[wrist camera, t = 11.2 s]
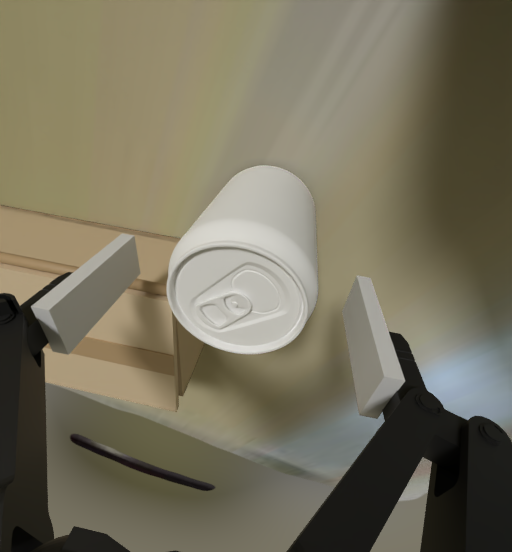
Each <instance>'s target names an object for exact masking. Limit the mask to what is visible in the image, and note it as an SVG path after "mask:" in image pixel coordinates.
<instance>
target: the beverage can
mask: <svg viewBox="0 0 512 552" xmlns="http://www.w3.org/2000/svg"><path fill="white" fill-rule="evenodd" d="M166 291H167V298H168V302H169V305H170V308H171V310H172V312H173V314H174V315H175V317H176V318H177V320H178V321H179V322H180V323H181V325H182V326H183V327H184V328H185V329H186V330H187V331H189V332H190V333H191V334H192V335H193V336H195V337H196V338H198V339H199V340H201V341H203V342H204V343H206V344H208V345H210V346H213V347H215V348H218V349H221V350H224V351H228V352H232V353H238V354H262V353H267V352H271V351H275V350H277V349H280V348H282V347H284V346H286V345H287V344H289V343H290V342H292V341H293V340H294V339H295V338H296V337H297V336H298V335H299V334H300V332H301V331H302V329H303V327H304V325H305V323H306V322H307V320H308V319H309V317H310V316H311V314H312V312H313V310H314V308H315V305H316V302H317V297H318V266H317V237H316V211H315V204H314V201H313V198H312V195H311V193H310V191H309V190H308V188H307V187H306V185H305V184H304V183H303V182H302V181H301V180H300V179H299V178H298V177H297V176H295V175H294V174H292V173H291V172H289V171H287V170H285V169H282V168H279V167H275V166H255V167H251V168H248V169H245V170H243V171H241V172H239V173H238V174H236V175H235V176H234V177H233V178H232V179H231V180H230V181H229V182H228V183H227V184H226V185H225V186H224V188H223V189H222V190H221V191H220V192H219V194H218V195H217V196H216V197H215V199H214V200H213V201H212V202H211V203H210V205H209V206H208V207H207V208H206V209H205V211H204V212H203V213H202V214H201V215H200V217H199V218H198V219H197V220H196V221H195V223H194V224H193V225H192V226H191V227H190V229H189V230H188V231H187V232H186V233H185V235H184V236H183V237H182V238H181V240H180V241H179V242H178V244H177V245H176V247H175V248H174V250H173V253H172V255H171V258H170V262H169V267H168V279H167V287H166Z"/></svg>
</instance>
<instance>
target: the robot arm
mask: <svg viewBox="0 0 512 552" xmlns="http://www.w3.org/2000/svg"><path fill="white" fill-rule="evenodd" d="M139 275H140V267H139V260H138V254H137V248H136V242H135V236H134V235H129V234H123V233H122V234H121V235H119V236H118V237H117V238H116V239H114V240H113V241H112V242H111V243H109V244H108V245H107V246H106V247H104V248H103V249H102V250H101V251H99V252H98V253H97V254H96V255H94V256H93V257H92V258H91V259H89V260H88V261H87V262H86V263H84V264H83V265H82V266H81V267H79V268H78V269H77V270H76V271H75V272H67V273H65V274H63V275H61V276H58V277H57V278H55V279H54V280H53V281H52V282H50V283H49V285H46V286H45V287H44V288H42V290H40V291H39V292H37V293H36V294H35V295H33V296H32V297H31V298H29V299H28V300H27V301H26V302H24V303H23V304H22V305H19V303H18V301H17V299H16V298H15V296H14V295H12V294H9V293H0V552H130V551H129V550H127V549H126V548H125V547H123V546H122V545H120V544H119V543H118V542H116V541H115V540H114V539H112V538H111V537H110V536H108V535H107V534H104V533H100V532H96V531H92V530H88V529H83V528H79V527H75V526H74V527H73V529H72V531H71V533H70V535H66V536H62V537H58V538H56V539H54V532H53V527H52V523H51V520H50V517H49V512H48V492H47V446H46V400H45V354H44V352H43V350H42V349H43V348H44V347H45V346H46V345H47V344H48V343H49V345H50V347H51V349H52V351H53V352H57V353H62V354H67V355H69V354H70V353H71V352H72V351H73V349H74V348H75V347H76V346H77V345H78V344H79V343H80V341H81V340H82V339H83V338H84V337H85V336H86V335H87V333H88V332H89V331H90V330H91V329H92V328H93V327H94V326H95V324H96V323H97V322H98V321H99V320H100V319H101V318H102V316H103V315H104V314H105V313H106V312H107V311H108V310H109V309H110V307H111V306H112V305H113V304H114V303H115V302H116V301H117V299H118V298H119V297H120V296H121V295H122V294H123V293H124V292H125V290H126V289H127V288H128V287H129V286H130V285H131V284H132V282H133V281H134V280H135V279H136V278H137V277H138V276H139ZM342 312H343V319H344V325H345V331H346V337H347V343H348V349H349V355H350V361H351V368H352V374H353V380H354V386H355V392H356V398H357V404H358V411H359V415H362V416H367V417H372V418H376V419H377V418H378V417H379V416H380V414H381V413H382V412H383V415H384V419H385V422H384V423H383V424H382V426H381V427H380V428H379V430H378V431H377V432H376V434H375V435H374V436H373V438H372V439H371V440H370V442H369V443H368V444H367V446H366V447H365V448H364V450H363V451H362V452H361V454H360V455H359V456H358V458H357V459H356V460H355V462H354V463H353V464H352V466H351V467H350V468H349V470H348V471H347V472H346V474H345V475H344V476H343V478H342V479H341V480H340V481H339V483H338V484H337V485H336V487H335V488H334V490H333V491H332V492H331V493H330V495H329V496H328V497H327V499H326V500H325V501H324V503H323V504H322V505H321V507H320V508H319V509H318V511H317V512H316V513H315V515H314V516H313V517H312V519H311V520H310V521H309V523H308V524H307V525H306V527H305V528H304V529H303V531H302V532H301V533H300V535H299V536H298V537H297V539H296V540H295V541H294V542H293V544H292V545H291V547H290V548H289V549H288V550H287V552H370V550H371V548H372V546H373V544H374V543H375V541H376V539H377V538H378V536H379V534H380V532H381V530H382V529H383V527H384V525H385V523H386V521H387V520H388V518H389V516H390V514H391V512H392V510H393V509H394V507H395V505H396V503H397V502H398V500H399V498H400V496H401V495H402V493H403V491H404V489H405V487H406V486H407V484H408V482H409V480H410V478H411V477H412V475H413V473H414V471H415V469H416V468H417V466H418V464H419V462H420V460H421V459H422V457H424V458H426V459H428V460H430V461H432V466H431V473H430V481H429V489H428V496H427V504H426V512H425V519H424V527H423V535H422V543H421V550H420V552H512V442H511V440H510V438H509V437H508V435H507V434H506V432H505V431H504V430H503V429H502V428H501V427H500V426H499V425H497V424H496V423H494V422H493V421H491V420H490V419H487V418H485V417H482V416H474V417H472V418H470V419H469V420H466V419H464V418H462V417H459V416H457V415H455V414H453V413H451V412H449V411H447V410H445V409H444V407H443V405H442V404H441V402H440V401H439V400H438V399H437V398H436V397H435V396H434V395H433V394H432V393H430V392H428V391H427V389H426V387H425V384H424V382H423V379H422V377H421V374H420V372H419V369H418V367H417V364H416V362H415V359H414V357H413V354H411V353H412V352H411V349H410V347H409V344H408V342H407V341H406V340H405V339H404V338H403V336H402V335H401V334H398V333H393V332H389V331H388V328H387V325H386V322H385V319H384V316H383V313H382V310H381V308H380V305H379V302H378V299H377V296H376V293H375V290H374V287H373V284H372V281H371V278H368V277H363V276H356V279H355V281H354V284H353V286H352V289H351V291H350V293H349V296H348V298H347V301H346V303H345V306H344V308H343V311H342ZM170 552H178V551H170Z"/></svg>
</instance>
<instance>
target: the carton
mask: <svg viewBox="0 0 512 552" xmlns="http://www.w3.org/2000/svg"><path fill="white" fill-rule="evenodd" d="M122 233H123V234H129V235H134V236H135V242H136V248H137V254H138V260H139V267H140V275H139V276H138V277H137V279H142V280H147V281H152V282H157V283H162V284H167V279H168V267H169V262H170V258H171V255H172V253H173V250H174V248H175V247H176V245H177V244H178V242H179V241H180V240H181V239H180V238H174V237H169V236H164V235H158V234H153V233H148V232H142V231H137V230H131V229H126V228H121V227H115V226H110V225H105V224H99V223H94V222H88V221H83V220H78V219H72V218H67V217H62V216H56V215H51V214H45V213H40V212H35V211H29V210H24V209H19V208H13V207H8V206H2V205H0V252H6V253H11V254H16V255H21V256H26V257H31V258H36V259H41V260H46V261H51V262H56V263H61V264H66V265H71V266H76V267H81V266H82V265H83V264H84V263H86V262H87V261H88V260H89V259H91V258H92V257H93V256H94V255H96V254H97V253H98V252H99V251H101V250H102V249H103V248H104V247H106V246H107V245H108V244H109V243H111V242H112V241H113V240H114V239H116V238H117V237H118V236H119V235H121V234H122ZM176 338H177V367H178V395H179V396H183V395H184V393H185V390H186V388H187V385H188V383H189V380H190V378H191V375H192V373H193V371H194V368H195V366H196V363H197V361H198V358H199V356H200V353H201V351H202V349H203V346H204V344H205V343H204V342H203V341H201V340H199V339H198V338H196V337H195V336H193V335H192V334H191V333H190V332H189V331H187V330H186V329H185V328H184V327H183V326H182V325H181V323H180V322H179V321H178V320H177V318H176Z"/></svg>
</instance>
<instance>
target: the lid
mask: <svg viewBox="0 0 512 552" xmlns="http://www.w3.org/2000/svg"><path fill="white" fill-rule="evenodd" d="M78 268H79V267H76V266H71V265H66V264H61V263H56V262H51V261H46V260H41V259H36V258H31V257H26V256H21V255H16V254H11V253H6V252H0V293H9V294H12V295H14V296H15V298H16V299H17V301H18V303H19V305H22V304H23V303H24V302H26V301H27V300H28V299H29V298H31V297H32V296H33V295H35V294H36V293H37V292H39V291H40V290H42V288H44V287H45V286H46V285H49V283H50V282H52V281H53V280H54V279H55V278H57V277H58V276H61V275H63V274H65V273H67V272H75V271H76V270H77V269H78ZM166 287H167V284H162V283H157V282H152V281H147V280H142V279H137V278H136V279H135V280H134V281H133V282H132V284H131V285H130V286H129V287H128V288H127V289H126V290H125V292H124V293H123V294H122V295H121V296H120V297H119V298H118V299H117V301H116V302H115V303H114V304H113V305H112V306H111V307H110V309H109V310H108V311H107V312H106V313H105V314H104V315H103V316H102V318H101V319H100V320H99V321H98V322H97V323H96V324H95V326H94V327H93V328H92V329H91V330H90V331H89V332H88V333H87V335H86V336H85V337H84V338H83V339H82V340H81V341H80V343H79V344H78V345H77V346H76V347H75V348H74V349H73V351H72V352H71V353H70V354H69V355H67V354H62V353H57V352H53V351H52V349H51V347H50V345H49V343H48V344H47V345H46V346H45V347H44V348H43V349H42V350H43V352H44V354H45V382H47V383H52V384H56V385H60V386H65V387H69V388H74V389H78V390H82V391H87V392H91V393H95V394H100V395H104V396H108V397H113V398H117V399H122V400H126V401H130V402H135V403H139V404H143V405H148V406H152V407H157V408H161V409H165V410H170V411H174V412H177V409H178V407H179V396H178V367H177V338H176V317H175V315H174V314H173V312H172V310H171V308H170V305H169V302H168V298H167V291H166Z"/></svg>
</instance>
